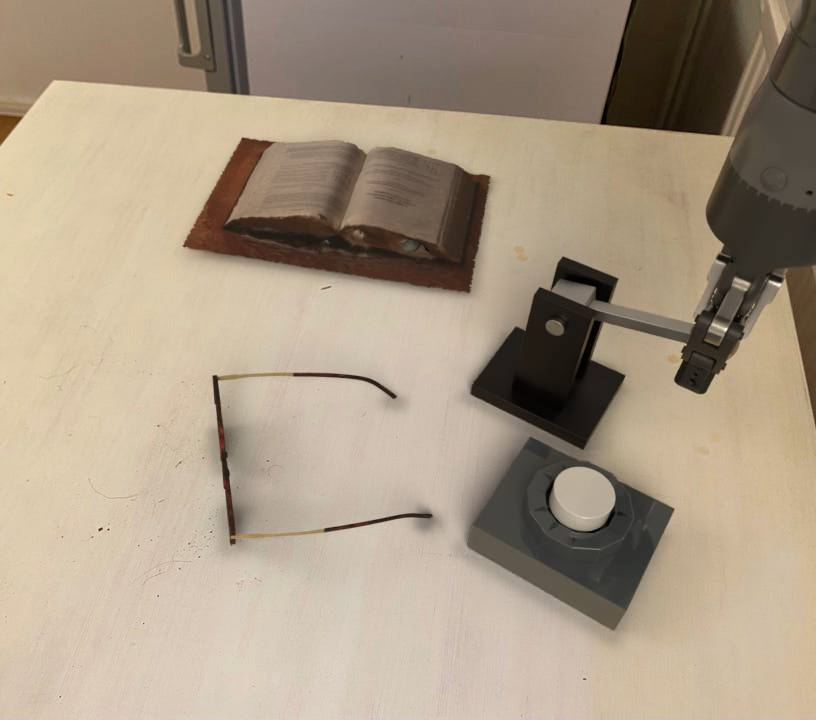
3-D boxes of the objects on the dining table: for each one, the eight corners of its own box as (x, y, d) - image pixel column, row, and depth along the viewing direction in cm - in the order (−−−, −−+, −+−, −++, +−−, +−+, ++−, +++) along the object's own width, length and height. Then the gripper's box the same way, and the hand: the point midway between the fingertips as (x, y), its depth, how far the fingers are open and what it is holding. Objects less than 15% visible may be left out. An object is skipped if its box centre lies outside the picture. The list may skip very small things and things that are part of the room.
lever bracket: (622, 385, 68) (663, 281, 59) (583, 450, 63) (622, 348, 54) (513, 336, 71) (537, 231, 63) (470, 394, 67) (489, 291, 58)
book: (470, 301, 75) (477, 262, 71) (181, 253, 78) (175, 214, 75) (489, 184, 88) (496, 147, 85) (242, 148, 92) (240, 111, 89)
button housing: (661, 531, 59) (683, 494, 55) (614, 631, 54) (634, 598, 50) (522, 460, 63) (534, 421, 59) (467, 547, 58) (475, 510, 54)
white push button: (618, 498, 55) (625, 484, 54) (595, 542, 53) (601, 528, 52) (563, 471, 57) (568, 456, 55) (538, 512, 54) (543, 498, 53)
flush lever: (742, 349, 56) (750, 313, 54) (728, 378, 54) (735, 342, 52) (562, 303, 63) (562, 270, 60) (544, 328, 61) (544, 295, 59)
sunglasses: (214, 410, 66) (211, 370, 62) (390, 393, 69) (398, 353, 65) (232, 570, 57) (230, 534, 53) (435, 543, 59) (447, 507, 56)
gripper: (848, 260, 39) (720, 463, 52) (903, 122, 46) (780, 330, 59) (692, 204, 42) (609, 410, 55) (769, 84, 49) (679, 289, 62)
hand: (699, 367), depth 57 cm, fingers closed on flush lever, 3 cm apart
